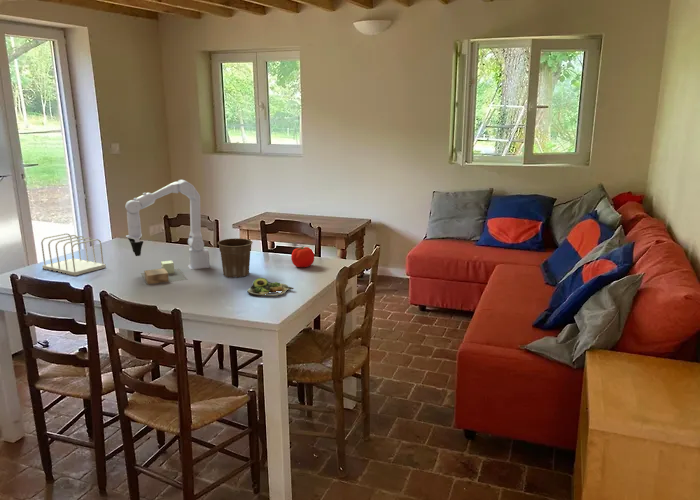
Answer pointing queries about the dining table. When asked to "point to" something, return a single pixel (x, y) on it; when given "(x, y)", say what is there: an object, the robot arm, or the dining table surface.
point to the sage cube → (168, 266)
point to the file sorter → (73, 264)
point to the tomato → (302, 257)
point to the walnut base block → (156, 276)
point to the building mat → (171, 276)
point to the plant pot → (235, 257)
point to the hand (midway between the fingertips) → (136, 253)
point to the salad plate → (267, 288)
